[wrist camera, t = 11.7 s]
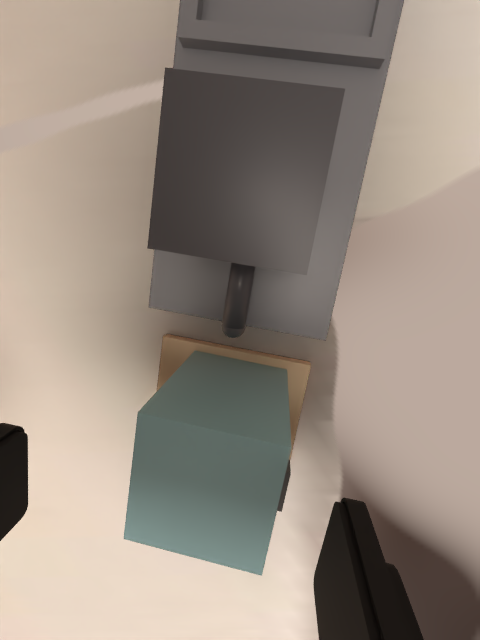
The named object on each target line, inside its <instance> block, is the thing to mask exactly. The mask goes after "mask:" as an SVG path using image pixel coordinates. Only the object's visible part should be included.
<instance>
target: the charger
mask: <svg viewBox="0 0 480 640" xmlns="http://www.w3.org/2000/svg"><path fill="white" fill-rule="evenodd" d="M291 448H292V447H291V430H290V412H289V394H288V377H287V369H282V368H277V367H273V366H268V365H263V364H258V363H253V362H248V361H244V360H239V359H234V358H229V357H224V356H220V355H215V354H210V353H205V352H200V351H194V352H193V353H192V354H191V355H190V356H189V357H188V358H187V360H186V361H185V362H184V363H183V364H182V365H181V366H180V367H179V368H178V369H177V370H176V372H175V373H174V374H173V375H172V376H171V377H170V378H169V379H168V380H167V381H166V382H165V383H164V385H163V386H162V387H161V388H160V389H159V390H158V391H157V392H156V393H155V394H154V395H153V397H152V398H151V399H150V400H149V401H148V402H147V403H146V404H145V405H144V406H143V407H142V408H141V410H140V411H139V412H138V416H137V425H136V433H135V442H134V451H133V460H132V469H131V478H130V487H129V496H128V505H127V514H126V522H125V531H124V539H126V540H130V541H134V542H137V543H141V544H145V545H149V546H152V547H156V548H160V549H164V550H167V551H171V552H175V553H179V554H182V555H186V556H190V557H194V558H197V559H201V560H205V561H209V562H213V563H216V564H220V565H224V566H228V567H231V568H235V569H239V570H243V571H246V572H250V573H254V574H258V575H261V576H262V572H263V568H264V564H265V559H266V555H267V551H268V546H269V542H270V538H271V534H272V529H273V525H274V521H275V516H276V512H277V511H281V512H282V508H283V503H284V499H285V495H286V491H287V486H288V482H289V478H290V460H289V456H290V452H291Z"/></svg>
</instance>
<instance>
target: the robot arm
mask: <svg viewBox="0 0 480 640" xmlns="http://www.w3.org/2000/svg"><path fill="white" fill-rule="evenodd" d="M27 507H28V437H27V434H26V433H24V429H23V428H22V427H20V426H15V425H11V424H6V423H0V541H1V540H2V539H3V538H4V537H5V535H6V534H7V533H8V532H9V531H10V530H11V529H12V528H13V527H14V526H15V525H16V524H17V523H18V522H19V521H20V520H21V518H22V517H23V516H24V514H25V512H26V510H27ZM314 595H315V605H316V614H317V624H318V633H319V640H423V636H422V634H421V631H420V628H419V626H418V623H417V620H416V618H415V615H414V612H413V609H412V607H411V604H410V601H409V599H408V596H407V593H406V591H405V588H404V585H403V582H402V580H401V577H400V575H399V573H398V570H397V569H396V568H395V566H394V565H392V564H389V563H386V562H385V559H384V556H383V554H382V550H381V548H380V545H379V542H378V539H377V536H376V533H375V530H374V527H373V524H372V521H371V518H370V516H369V512H368V510H367V507H366V505H365V503H364V502H361V501H357V500H353V499H348V498H343V499H342V500H341V503H340V502H335V503H334V506H333V510H332V513H331V517H330V520H329V524H328V527H327V531H326V535H325V538H324V542H323V545H322V549H321V552H320V556H319V560H318V563H317V567H316V570H315V575H314Z"/></svg>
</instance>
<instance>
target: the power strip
mask: <svg viewBox="0 0 480 640" xmlns="http://www.w3.org/2000/svg"><path fill="white" fill-rule="evenodd" d="M403 2H404V0H180V7H179V16H178V26H177V36H176V46H175V55H174V65H173V68H165V75H164V86H163V96H162V106H161V116H160V127H159V137H158V147H157V157H156V167H155V178H154V188H153V198H152V208H151V218H150V229H149V239H148V248H149V249H155V250H154V260H153V270H152V279H151V289H150V299H149V308H155V309H160V310H165V311H171V312H176V313H181V314H187V315H192V316H197V317H203V318H208V319H213V320H219V321H222V330H223V332H224V334H225V335H227V336H228V337H231V338H236V337H238V336H240V335H241V334H242V333H243V332H244V329H245V326H250V327H256V328H261V329H266V330H272V331H277V332H282V333H288V334H293V335H298V336H304V337H309V338H314V339H320V340H325V341H326V338H327V334H328V329H329V325H330V321H331V316H332V312H333V307H334V303H335V299H336V294H337V290H338V286H339V281H340V276H341V272H342V268H343V264H344V259H345V255H346V250H347V246H348V242H349V238H350V233H351V229H352V225H353V220H354V216H355V212H356V207H357V203H358V198H359V194H360V190H361V185H362V181H363V177H364V172H365V168H366V164H367V159H368V155H369V150H370V146H371V142H372V137H373V133H374V129H375V124H376V120H377V116H378V111H379V107H380V103H381V98H382V94H383V89H384V85H385V81H386V76H387V72H388V68H389V63H390V59H391V55H392V50H393V46H394V41H395V37H396V33H397V28H398V24H399V20H400V15H401V11H402V7H403Z"/></svg>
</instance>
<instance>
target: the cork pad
mask: <svg viewBox="0 0 480 640" xmlns="http://www.w3.org/2000/svg"><path fill="white" fill-rule="evenodd" d="M194 351H200V352H205V353H210V354H215V355H220V356H224V357H229V358H234V359H239V360H244V361H248V362H253V363H258V364H263V365H268V366H273V367H277V368H282V369H287V377H288V394H289V412H290V430H291V447H292V448H291V452H290V456H289V460H290V458H291V453H292V449H293V444H294V440H295V435H296V431H297V426H298V422H299V417H300V413H301V408H302V404H303V399H304V395H305V390H306V386H307V381H308V377H309V372H310V368H311V364H310V362H308V361H303V360H298V359H293V358H288V357H283V356H278V355H272V354H267V353H262V352H257V351H252V350H247V349H242V348H236V347H231V346H226V345H221V344H216V343H211V342H206V341H201V340H195V339H190V338H185V337H180V336H175V335H170V334H166V335H164V336H163V340H162V349H161V358H160V366H159V375H158V384H157V391H158V390H159V389H160V388H161V387H162V386H163V385H164V383H165V382H166V381H167V380H168V379H169V378H170V377H171V376H172V375H173V374H174V373H175V372H176V370H177V369H178V368H179V367H180V366H181V365H182V364H183V363H184V362H185V361H186V360H187V358H188V357H189V356H190V355H191V354H192V353H193V352H194Z"/></svg>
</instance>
